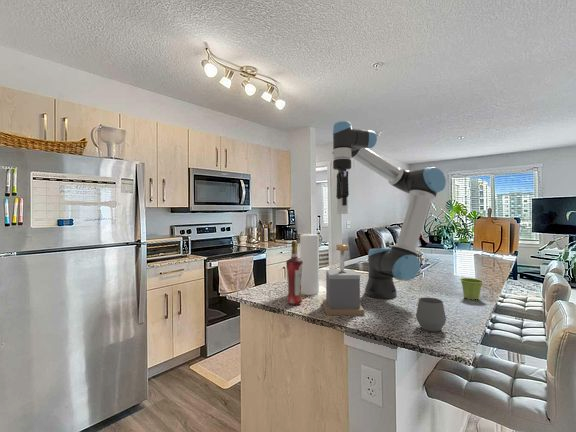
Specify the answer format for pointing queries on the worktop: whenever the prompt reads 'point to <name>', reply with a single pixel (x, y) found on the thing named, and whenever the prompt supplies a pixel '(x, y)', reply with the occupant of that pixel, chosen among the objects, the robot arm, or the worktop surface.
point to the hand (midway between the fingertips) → (342, 213)
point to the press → (342, 293)
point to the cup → (431, 314)
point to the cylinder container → (310, 263)
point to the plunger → (342, 255)
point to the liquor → (294, 277)
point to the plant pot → (471, 288)
